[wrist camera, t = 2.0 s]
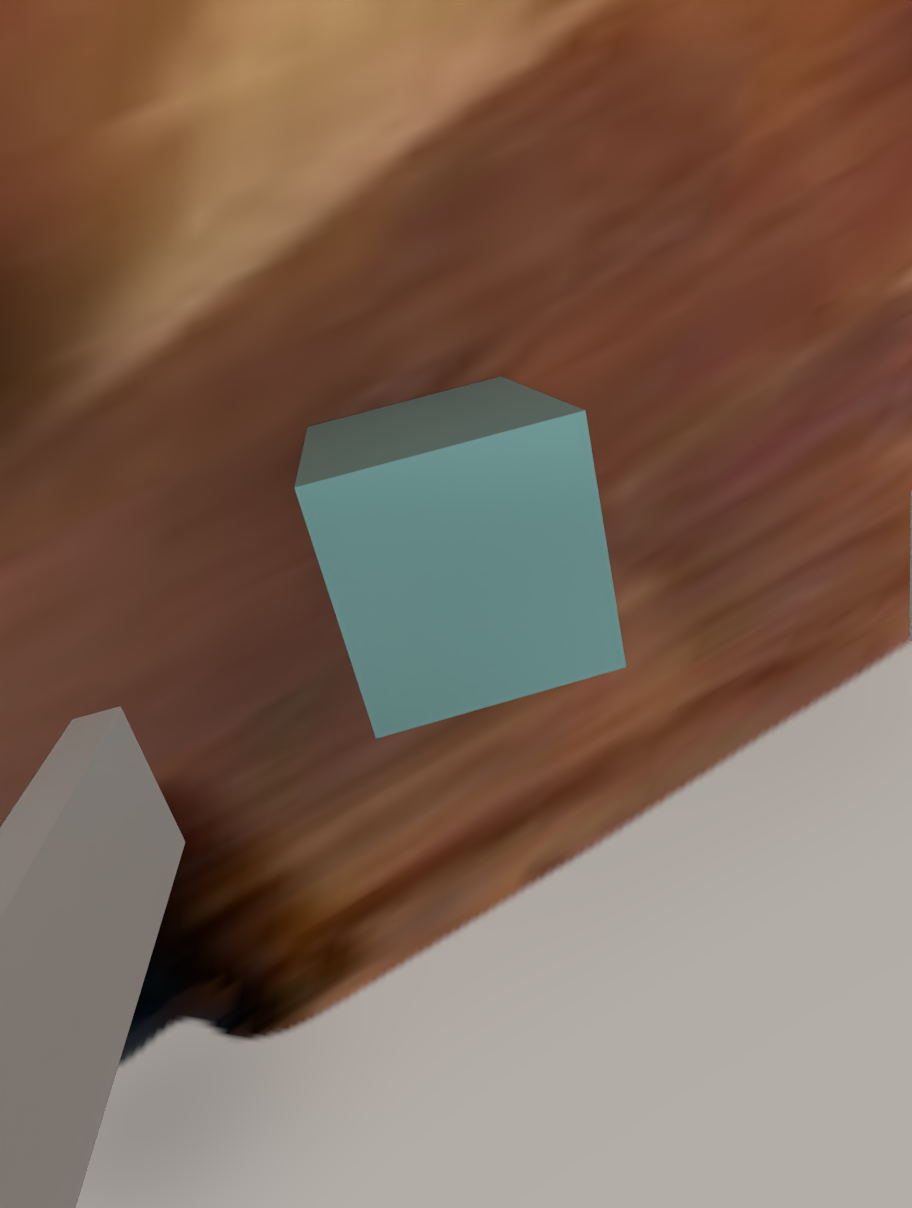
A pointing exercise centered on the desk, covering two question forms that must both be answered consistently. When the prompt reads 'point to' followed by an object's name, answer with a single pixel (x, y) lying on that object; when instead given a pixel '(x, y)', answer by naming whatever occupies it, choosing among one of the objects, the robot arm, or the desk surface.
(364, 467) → the teal rectangular block
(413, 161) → the desk surface
